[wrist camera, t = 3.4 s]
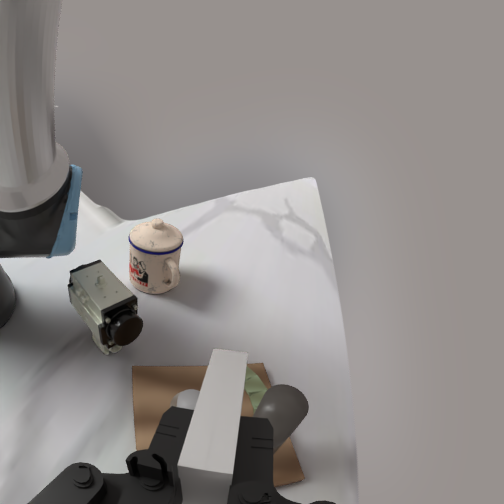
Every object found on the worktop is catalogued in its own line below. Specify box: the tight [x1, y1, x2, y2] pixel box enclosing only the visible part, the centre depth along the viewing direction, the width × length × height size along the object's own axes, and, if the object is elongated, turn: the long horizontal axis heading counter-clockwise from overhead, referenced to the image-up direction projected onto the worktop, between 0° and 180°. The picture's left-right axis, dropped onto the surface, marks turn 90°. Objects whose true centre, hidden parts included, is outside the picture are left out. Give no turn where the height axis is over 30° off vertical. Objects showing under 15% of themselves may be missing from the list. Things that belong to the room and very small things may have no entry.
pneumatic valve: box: [68, 260, 143, 355], centre depth 36 cm, size 6×12×12 cm, turn 52°
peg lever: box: [177, 385, 309, 455], centre depth 29 cm, size 13×4×12 cm, turn 54°
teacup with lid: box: [129, 219, 183, 294], centre depth 50 cm, size 12×9×12 cm
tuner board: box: [132, 363, 305, 487], centre depth 33 cm, size 18×18×1 cm
